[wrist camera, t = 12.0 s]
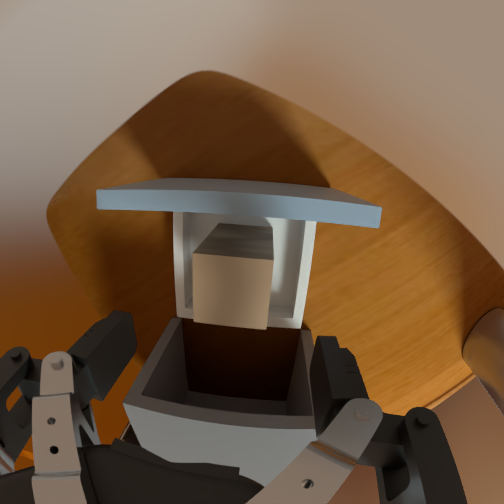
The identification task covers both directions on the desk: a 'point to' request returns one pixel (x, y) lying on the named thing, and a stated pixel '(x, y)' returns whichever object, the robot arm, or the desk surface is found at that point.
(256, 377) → the desk surface
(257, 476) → the cabinet
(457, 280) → the desk surface
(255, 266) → the block
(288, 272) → the drawer
